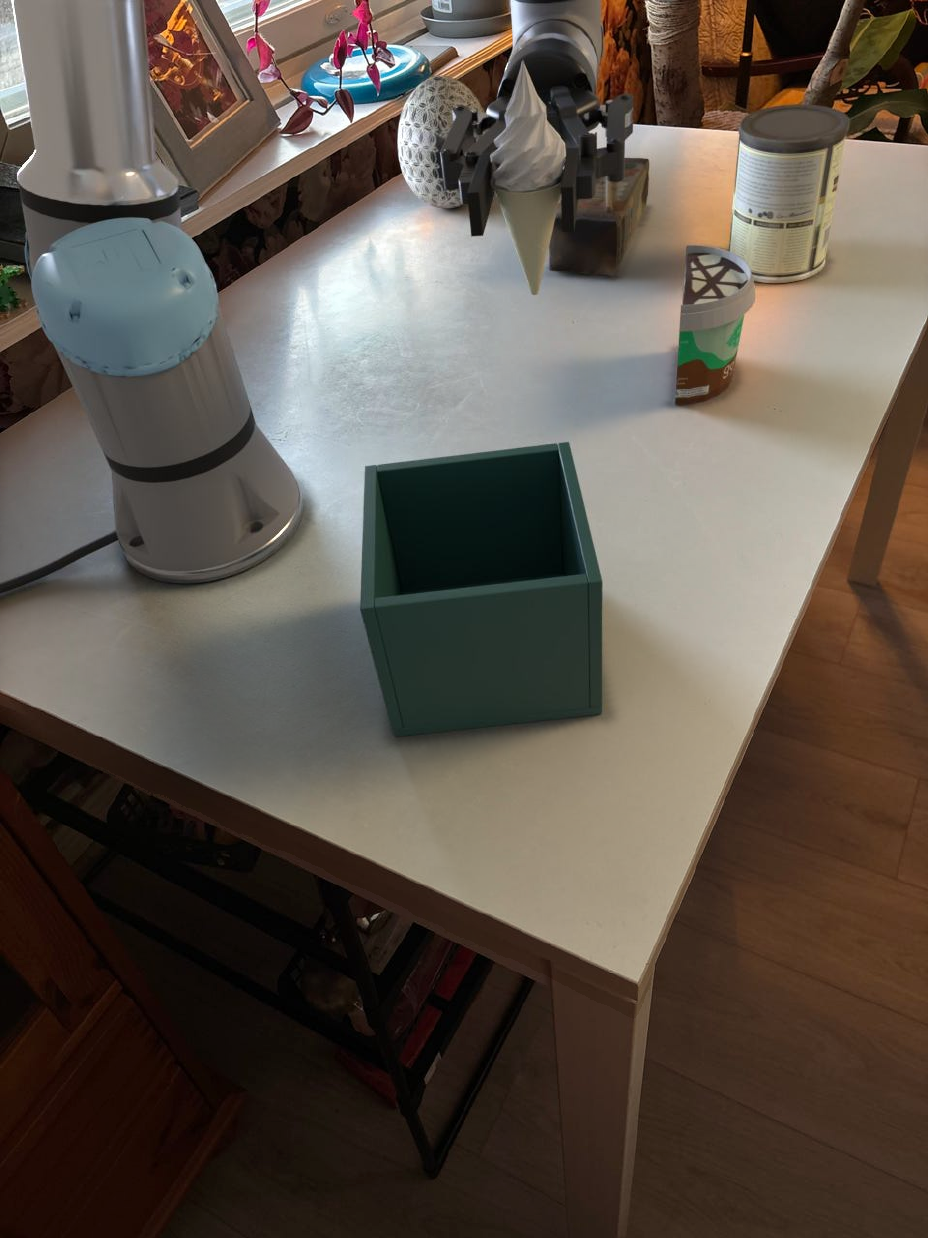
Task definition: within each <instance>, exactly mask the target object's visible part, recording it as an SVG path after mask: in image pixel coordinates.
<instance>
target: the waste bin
mask: <svg viewBox="0 0 928 1238" xmlns="http://www.w3.org/2000/svg"><path fill="white" fill-rule="evenodd" d="M363 479H364V480H363V481H364V482H363V509H362V542H361V543H362V546H361V570H360V571H361V573H360V574H361V575H360V577H361V578H360V603H359V605H360V606H359V610H360V614H361V617H362V622H363V625H364V630H365V633H366V637H367V641H368V644H369V648H370V651H371V656H372V660H373V665H374V667H375V672H376V676H377V679H378V683H379V687H380V691H381V695H382V699H383V703H384V706H385V710H386V714H387V718H388V722H389V725H390V729H391V733H392V736H393V737H394V738H397V737H404V736H406V737H407V736H415V735H424V734H425V735H426V734H434V733H442V732H443V733H444V732H451V731H460V730H469V729H477V728H478V729H479V728H486V727H487V728H488V727H497V726H506V725H514V724H525V723H533V722H540V721H550V720H559V719H560V720H561V719H569V718H576V717H577V718H578V717H588V716H596V715H602V714H603V579H602V573H601V570H600V565H599V560H598V557H597V552H596V548H595V544H594V540H593V537H592V532H591V527H590V524H589V519H588V515H587V512H586V507H585V503H584V499H583V498H584V497H583V494H582V489H581V485H580V482H579V477H578V473H577V469H576V465H575V461H574V457H573V453H572V448H571V443H570V441H565V442H558V443H555V442H554V443H546V444H538V445H531V446H529V445H528V446H521V447H514V448H506V449H495V450H488V451H482V452H481V451H480V452H471V453H464V454H455V455H447V456H440V457H432V458H424V459H423V458H422V459H416V460H415V459H414V460H407V461H397V462H390V463H381V464H372V465H365V466H364V477H363Z"/></svg>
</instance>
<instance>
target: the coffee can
mask: <svg viewBox="0 0 928 1238" xmlns="http://www.w3.org/2000/svg"><path fill="white" fill-rule="evenodd" d="M850 125H851V120H850V117H849V116H848V115H847V114H845V113H844V112H843V111H841V110H838V109H835V108H832V107H829V106H824V105H817V104H816V105H815V104H806V103H805V104H801V103H800V104H783V105H774V106H770V107H765V108H761V109H759V110H755V111H752V112H751V113H749V114H747V115H746V116H744V117H743V118H742V119H740V121H739V123H738V144H737V156H736V167H735V177H734V188H733V189H734V190H733V201H732V209H731V210H732V211H731V218H730V219H731V221H730V231H729V240H728V241H729V242H728V251H729V252H732V253H734V254H736V255H738V256H740V257H741V258H742V259H744V260H745V261H746V262H747V263H748V265H749V267H750V269H751V273H752V274H753V278H754V282H758V283H764V284H785V283H793V282H798V281H803V280H806V279H808V278H811V277H813V276H815V275H817V274H819V273H820V272H821V271H822V270H823V269H824V267H825V264H826V255H827V250H828V249H827V248H828V244H829V238H830V232H831V227H832V222H833V221H832V220H833V213H834V210H835V209H834V208H835V204H836V203H835V202H836V197H837V191H838V185H839V178H840V174H841V167H842V164H843V163H842V162H843V156H844V149H845V143H846V138H847V133H848V132H849V130H850Z"/></svg>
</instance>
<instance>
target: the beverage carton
mask: <svg viewBox="0 0 928 1238" xmlns="http://www.w3.org/2000/svg"><path fill="white" fill-rule="evenodd" d="M649 172H650V159H649V158H644V157H625V169H624V179H623V180H621V181H619V182H611V181H608V180H607V179H606V176H604V177H601V178H599V179H598V180H597V184H596V193H595V196H594V197H593V198H592V199H578V206H577V213H576V221H575V229H574V232H562V213H561V200H559V203H558V208H557V212H556V217H555V221H554V225H553V231H552V235H551V240H550V244H549V248H548V265H549V266H548V267H549V268H548V269H549V271H550V272H561V273H576V274H584V275H604V276H610V277H611V276H614V275H615V274H616V272H617V270H618V268H619V267H620V265H621V263H622V261H623V258H624V256H625V254H626V252H627V250H628V247H629V245H630V243H631V241H632V239H633V236H634V234H635V232H636V230H637V228H638V225H639V224H640V221H641V219H642V216H643V213H644V211H645V209H646V206H647V202H648V201H647V200H648V196H649V186H650V185H649V184H650V175H649V174H650V173H649Z"/></svg>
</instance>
